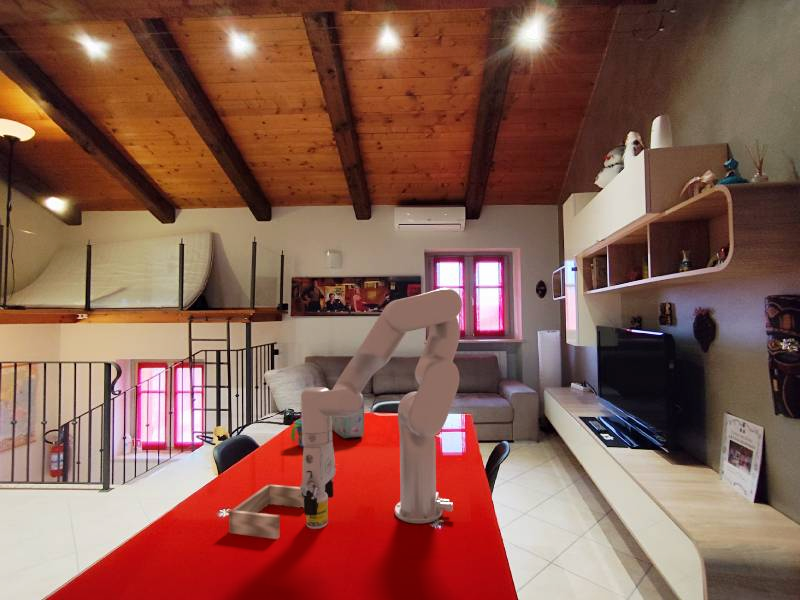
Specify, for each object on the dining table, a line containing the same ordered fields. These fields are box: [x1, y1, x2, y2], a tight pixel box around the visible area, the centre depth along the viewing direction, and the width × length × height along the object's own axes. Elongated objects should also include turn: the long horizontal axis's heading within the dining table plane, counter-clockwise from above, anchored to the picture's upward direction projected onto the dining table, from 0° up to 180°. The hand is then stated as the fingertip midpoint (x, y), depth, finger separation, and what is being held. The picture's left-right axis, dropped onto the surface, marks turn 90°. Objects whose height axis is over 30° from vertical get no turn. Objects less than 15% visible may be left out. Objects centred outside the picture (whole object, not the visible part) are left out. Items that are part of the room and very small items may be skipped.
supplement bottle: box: [305, 483, 329, 530], centre depth 102 cm, size 5×5×10 cm
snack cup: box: [290, 418, 304, 448], centre depth 167 cm, size 16×10×10 cm
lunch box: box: [332, 392, 365, 439], centre depth 185 cm, size 27×10×21 cm, turn 25°
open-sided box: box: [228, 483, 304, 540], centre depth 105 cm, size 13×17×5 cm
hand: (319, 505), depth 102 cm, fingers open, 9 cm apart
